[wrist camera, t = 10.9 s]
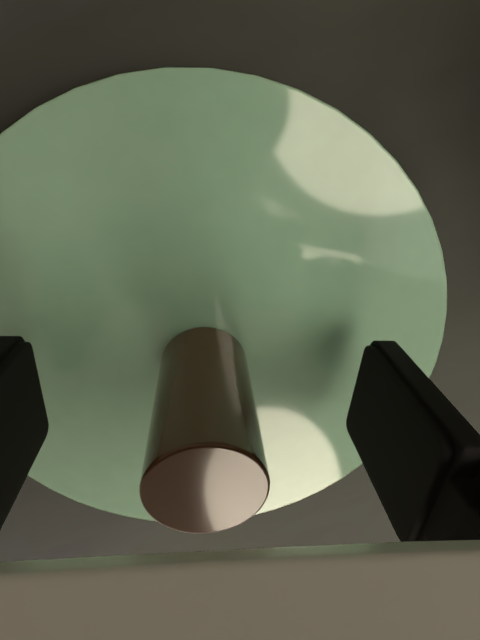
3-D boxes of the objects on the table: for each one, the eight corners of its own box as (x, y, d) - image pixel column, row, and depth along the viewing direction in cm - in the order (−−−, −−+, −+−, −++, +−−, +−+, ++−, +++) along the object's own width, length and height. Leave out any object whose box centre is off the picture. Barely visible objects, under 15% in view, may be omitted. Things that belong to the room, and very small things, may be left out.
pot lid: (-135, 43, 8) (-681, -91, 3) (498, 99, 10) (811, 72, 5) (10, 503, 15) (-87, 696, 10) (370, 491, 17) (444, 650, 12)
